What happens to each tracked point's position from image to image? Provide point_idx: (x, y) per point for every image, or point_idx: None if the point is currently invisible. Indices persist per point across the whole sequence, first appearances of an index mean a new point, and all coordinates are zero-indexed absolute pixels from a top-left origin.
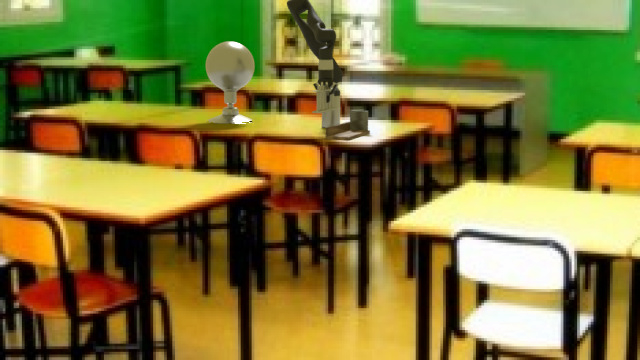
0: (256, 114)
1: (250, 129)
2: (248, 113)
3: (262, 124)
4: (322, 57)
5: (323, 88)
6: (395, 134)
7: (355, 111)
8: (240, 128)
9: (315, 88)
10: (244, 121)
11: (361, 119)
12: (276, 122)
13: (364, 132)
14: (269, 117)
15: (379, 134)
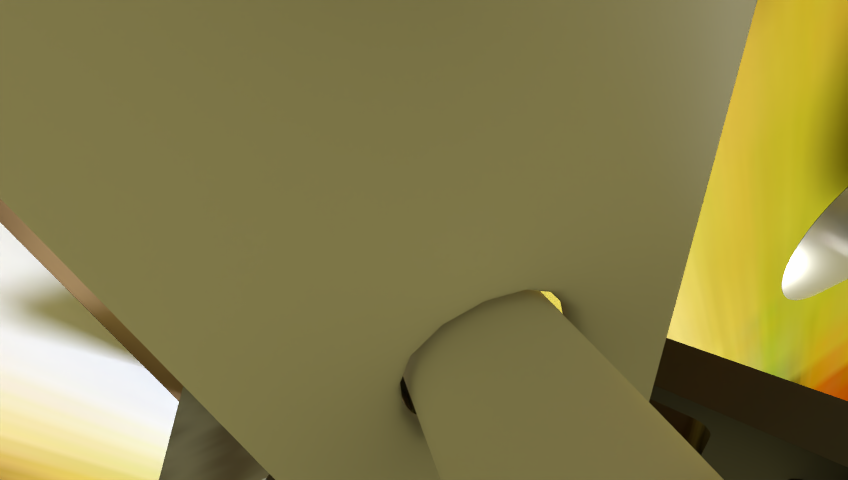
0: (777, 368)
1: (801, 52)
2: (796, 364)
3: (754, 237)
4: None
5: (445, 475)
6: (15, 464)
7: (261, 474)
8: (844, 54)
9: (796, 390)
10: (820, 230)
11: (214, 436)
12: (713, 309)
13: (117, 335)
14: (743, 360)
15: (85, 401)
